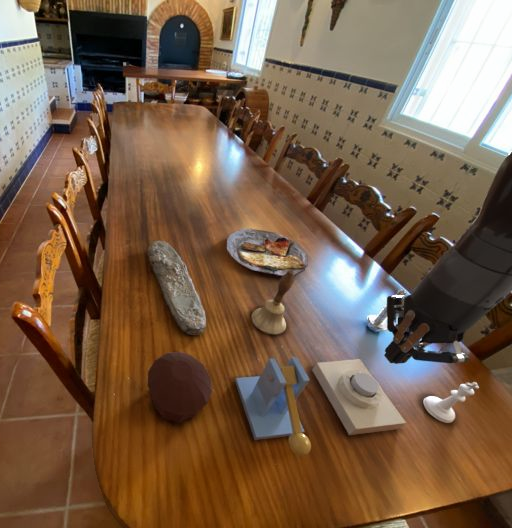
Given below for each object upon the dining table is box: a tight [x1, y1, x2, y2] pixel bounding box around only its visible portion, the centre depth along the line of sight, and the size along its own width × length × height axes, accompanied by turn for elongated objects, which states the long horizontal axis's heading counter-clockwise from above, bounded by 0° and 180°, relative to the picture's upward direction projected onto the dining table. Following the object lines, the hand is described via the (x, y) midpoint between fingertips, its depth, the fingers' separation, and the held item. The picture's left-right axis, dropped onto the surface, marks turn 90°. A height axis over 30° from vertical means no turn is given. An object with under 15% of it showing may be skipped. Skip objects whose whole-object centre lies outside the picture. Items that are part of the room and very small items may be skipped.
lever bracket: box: [234, 356, 311, 441], centre depth 52 cm, size 11×9×13 cm
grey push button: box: [351, 372, 379, 397], centre depth 56 cm, size 4×4×2 cm
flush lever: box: [279, 365, 312, 457], centre depth 48 cm, size 13×3×3 cm
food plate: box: [226, 228, 309, 277], centre depth 93 cm, size 25×23×4 cm
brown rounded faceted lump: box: [147, 351, 213, 424], centre depth 53 cm, size 12×11×10 cm
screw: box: [365, 289, 407, 333], centre depth 69 cm, size 13×5×5 cm
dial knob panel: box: [311, 358, 407, 436], centre depth 57 cm, size 13×10×4 cm
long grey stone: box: [147, 240, 207, 336], centre depth 79 cm, size 35×5×10 cm
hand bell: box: [250, 270, 295, 335], centre depth 68 cm, size 8×8×16 cm
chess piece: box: [423, 381, 480, 424], centre depth 55 cm, size 5×5×10 cm
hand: (391, 359), depth 50 cm, fingers closed
